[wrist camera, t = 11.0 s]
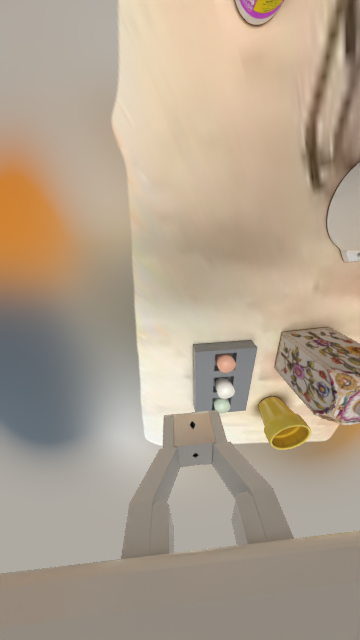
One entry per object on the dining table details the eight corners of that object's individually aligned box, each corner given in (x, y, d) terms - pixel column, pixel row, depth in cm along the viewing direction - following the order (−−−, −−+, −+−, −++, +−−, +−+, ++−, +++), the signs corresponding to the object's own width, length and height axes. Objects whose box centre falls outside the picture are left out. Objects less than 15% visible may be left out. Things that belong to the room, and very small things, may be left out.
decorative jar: (315, 364, 45) (399, 433, 29) (273, 369, 45) (333, 442, 28) (329, 324, 40) (440, 382, 24) (281, 330, 40) (360, 392, 23)
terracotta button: (232, 349, 39) (236, 358, 37) (230, 363, 41) (234, 372, 38) (215, 351, 39) (218, 359, 37) (214, 364, 41) (217, 373, 38)
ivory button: (231, 376, 41) (235, 385, 39) (229, 388, 43) (233, 398, 40) (215, 377, 41) (218, 387, 38) (214, 389, 43) (217, 399, 40)
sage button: (227, 392, 45) (231, 402, 43) (226, 402, 47) (229, 412, 44) (212, 393, 45) (215, 403, 43) (212, 403, 47) (214, 413, 44)
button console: (251, 340, 40) (257, 347, 37) (241, 401, 49) (245, 410, 46) (193, 344, 40) (195, 352, 37) (193, 405, 49) (195, 414, 46)
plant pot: (283, 412, 53) (306, 447, 44) (251, 417, 53) (268, 452, 44) (289, 389, 48) (316, 422, 40) (253, 394, 48) (273, 428, 40)
